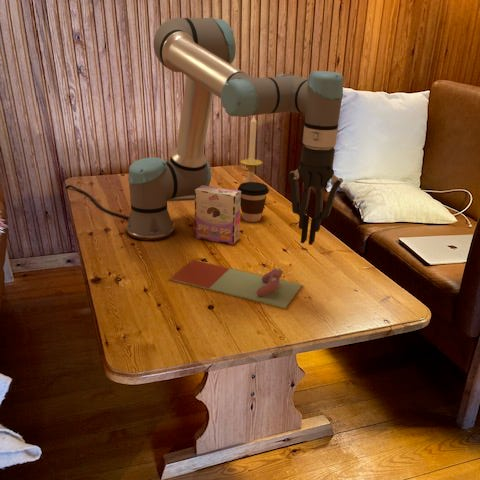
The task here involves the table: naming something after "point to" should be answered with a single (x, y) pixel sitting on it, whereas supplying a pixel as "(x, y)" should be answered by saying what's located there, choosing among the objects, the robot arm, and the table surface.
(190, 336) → the table surface
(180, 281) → the placemat
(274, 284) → the video game controller
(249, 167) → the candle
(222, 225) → the candy box
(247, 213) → the coffee cup
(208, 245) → the table surface
